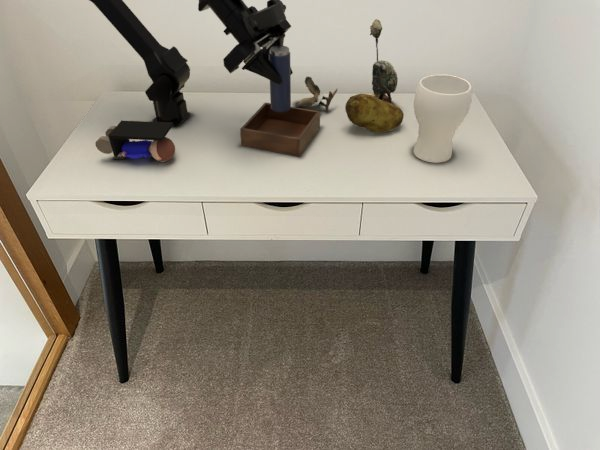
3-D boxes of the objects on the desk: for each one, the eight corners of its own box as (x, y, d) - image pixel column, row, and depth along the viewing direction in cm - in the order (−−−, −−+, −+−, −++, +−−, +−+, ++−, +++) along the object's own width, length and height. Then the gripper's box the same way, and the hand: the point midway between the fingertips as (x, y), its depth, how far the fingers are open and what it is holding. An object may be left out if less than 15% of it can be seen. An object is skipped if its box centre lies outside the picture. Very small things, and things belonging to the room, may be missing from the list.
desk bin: (241, 145, 107) (240, 128, 104) (265, 118, 117) (265, 102, 114) (299, 156, 103) (299, 139, 101) (319, 127, 113) (320, 111, 110)
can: (270, 112, 104) (268, 52, 96) (271, 103, 107) (269, 44, 99) (290, 112, 104) (290, 52, 96) (290, 103, 107) (290, 45, 99)
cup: (428, 172, 99) (441, 100, 89) (396, 147, 106) (405, 79, 97) (469, 158, 103) (486, 89, 93) (436, 136, 110) (448, 69, 100)
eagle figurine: (339, 98, 122) (306, 84, 124) (337, 81, 115) (303, 67, 118) (323, 123, 121) (291, 109, 123) (321, 108, 114) (287, 93, 116)
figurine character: (102, 169, 102) (171, 168, 99) (89, 136, 98) (160, 134, 95) (117, 152, 108) (182, 151, 105) (104, 120, 103) (172, 117, 100)
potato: (402, 140, 108) (407, 105, 103) (342, 136, 110) (344, 102, 105) (402, 122, 115) (406, 89, 110) (345, 118, 116) (347, 85, 111)
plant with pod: (369, 119, 116) (378, 31, 103) (357, 98, 125) (363, 14, 112) (403, 117, 117) (415, 29, 104) (389, 96, 126) (399, 12, 113)
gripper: (232, -1, 86) (291, 72, 89) (281, -26, 99) (331, 40, 102) (199, 38, 93) (254, 105, 96) (249, 11, 106) (296, 71, 110)
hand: (286, 78), depth 101 cm, fingers closed on can, 4 cm apart
